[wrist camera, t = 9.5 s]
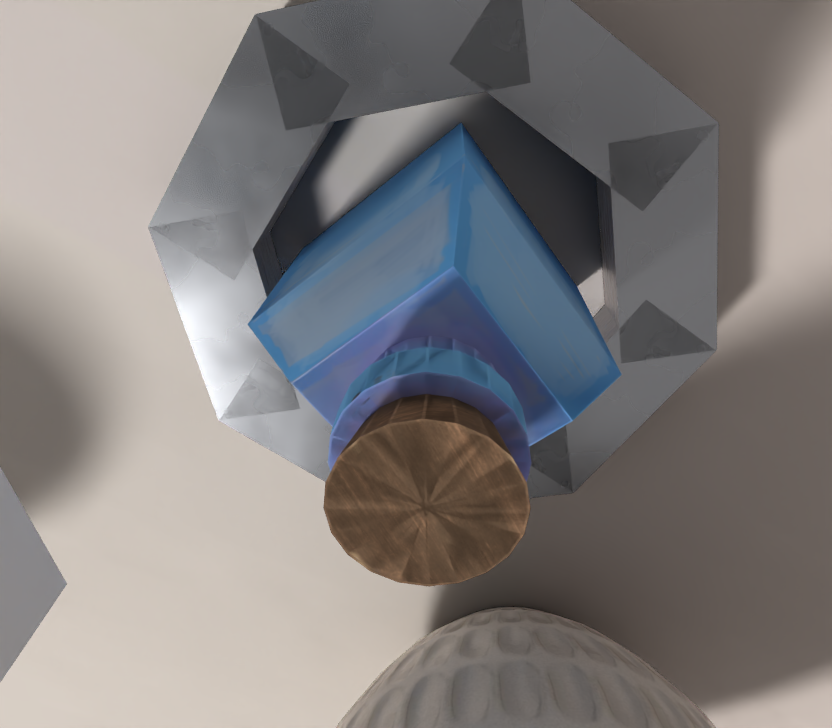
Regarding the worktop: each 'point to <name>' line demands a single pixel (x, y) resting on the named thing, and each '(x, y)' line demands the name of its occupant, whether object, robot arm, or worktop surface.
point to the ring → (423, 83)
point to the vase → (521, 680)
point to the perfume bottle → (434, 363)
